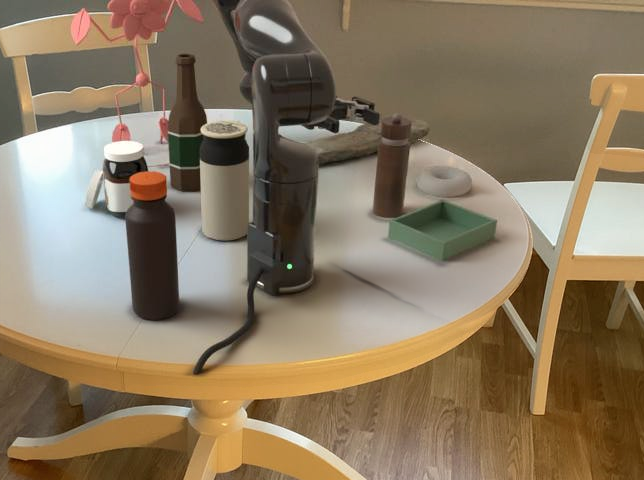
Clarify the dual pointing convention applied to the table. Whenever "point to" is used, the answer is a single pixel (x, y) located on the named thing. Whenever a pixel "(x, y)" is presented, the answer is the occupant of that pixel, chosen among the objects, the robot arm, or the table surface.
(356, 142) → the elongated rock
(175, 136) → the beer bottle
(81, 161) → the table surface
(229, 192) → the travel mug
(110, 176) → the spread jar
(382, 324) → the table surface
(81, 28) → the figurine
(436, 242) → the green shallow open box
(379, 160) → the pepper mill
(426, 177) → the donut
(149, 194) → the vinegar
